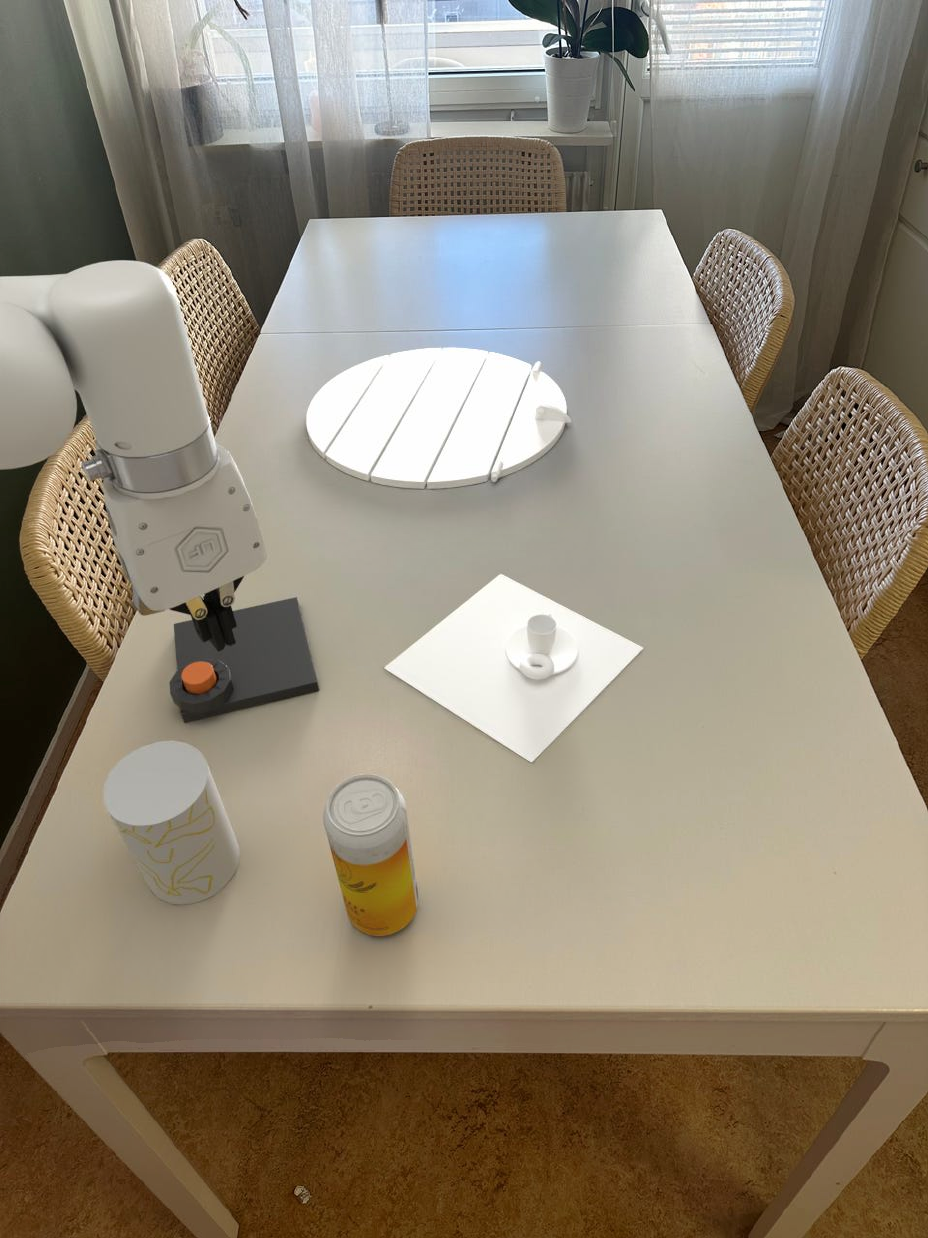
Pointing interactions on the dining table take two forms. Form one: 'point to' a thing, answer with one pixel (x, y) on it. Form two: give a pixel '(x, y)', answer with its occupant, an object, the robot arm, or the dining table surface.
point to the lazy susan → (436, 418)
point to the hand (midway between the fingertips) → (219, 638)
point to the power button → (199, 677)
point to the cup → (173, 821)
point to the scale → (247, 661)
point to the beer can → (372, 853)
